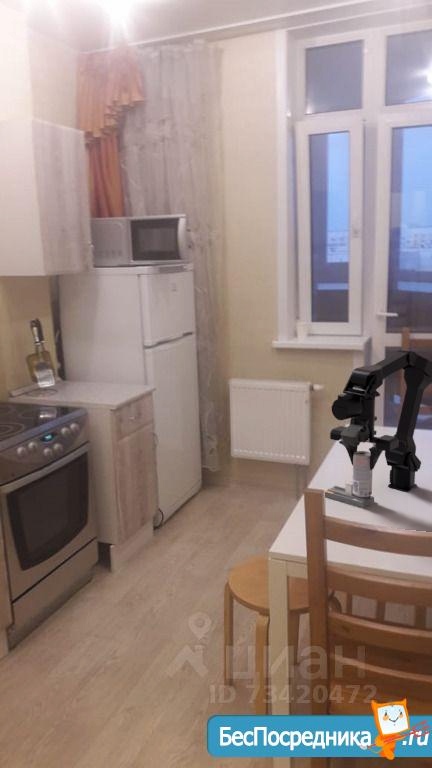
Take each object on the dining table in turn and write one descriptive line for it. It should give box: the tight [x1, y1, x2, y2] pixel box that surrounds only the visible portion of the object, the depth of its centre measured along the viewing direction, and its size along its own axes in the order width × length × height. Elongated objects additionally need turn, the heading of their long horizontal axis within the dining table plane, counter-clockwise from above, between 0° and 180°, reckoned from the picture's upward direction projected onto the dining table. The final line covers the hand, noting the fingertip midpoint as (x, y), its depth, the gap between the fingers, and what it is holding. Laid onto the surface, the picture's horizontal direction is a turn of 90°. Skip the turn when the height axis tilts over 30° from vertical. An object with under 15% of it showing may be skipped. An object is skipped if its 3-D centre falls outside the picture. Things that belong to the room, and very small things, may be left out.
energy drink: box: [352, 450, 373, 497], centre depth 172 cm, size 5×5×12 cm
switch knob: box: [345, 480, 354, 496], centre depth 176 cm, size 2×2×4 cm
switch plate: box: [324, 485, 375, 509], centre depth 177 cm, size 13×6×2 cm, turn 46°
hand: (362, 467), depth 172 cm, fingers closed on energy drink, 5 cm apart
